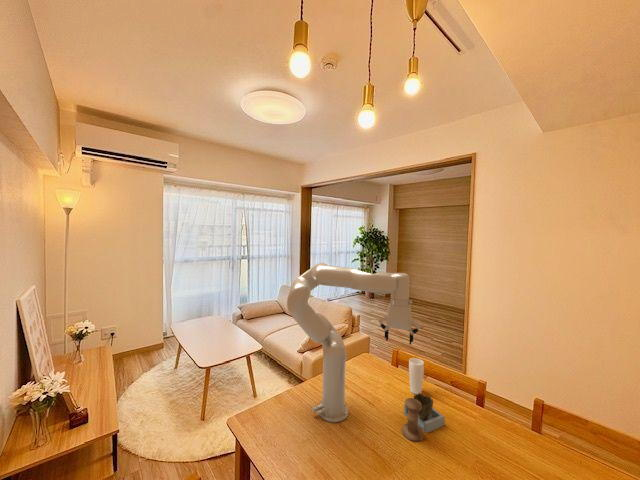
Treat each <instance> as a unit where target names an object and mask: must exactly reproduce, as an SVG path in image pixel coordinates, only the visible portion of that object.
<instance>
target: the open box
mask: <svg viewBox="0 0 640 480" xmlns="http://www.w3.org/2000/svg"><path fill="white" fill-rule="evenodd" d="M403 414H404V415H405V416H407V417H408V409H407V408H406V406H405V404H404V405H403ZM445 418H446V417H445V416H444V414H442V413H441V412H439V411H438V410H437V409H435V408H434V407H433V406H432V412H431V414H430V416H428V418H427V419H426V420H422V419H420V418H419V416H418V426H419V427H420V428H421V429H422V431H423V432H424V433H425V434H427V433H430V432H432V431H435V430H437V429H441V428H442V427H444V426H445Z"/></svg>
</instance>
